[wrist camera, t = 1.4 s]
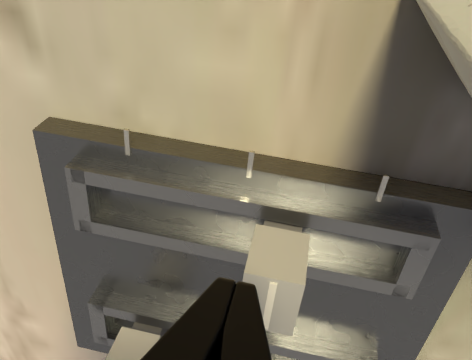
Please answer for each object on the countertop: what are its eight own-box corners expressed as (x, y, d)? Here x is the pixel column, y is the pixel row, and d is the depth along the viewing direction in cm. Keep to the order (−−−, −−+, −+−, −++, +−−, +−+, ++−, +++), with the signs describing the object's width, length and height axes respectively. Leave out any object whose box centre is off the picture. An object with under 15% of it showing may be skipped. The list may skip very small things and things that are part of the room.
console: (495, 176, 20) (514, 213, 17) (380, 398, 31) (383, 437, 28) (45, 99, 22) (13, 122, 20) (87, 329, 33) (69, 360, 31)
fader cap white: (171, 308, 27) (140, 384, 23) (171, 343, 29) (143, 418, 25) (134, 300, 27) (98, 373, 23) (137, 335, 29) (104, 408, 25)
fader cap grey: (312, 206, 21) (305, 287, 17) (300, 255, 22) (291, 338, 18) (262, 197, 21) (243, 274, 17) (255, 246, 23) (236, 325, 19)
